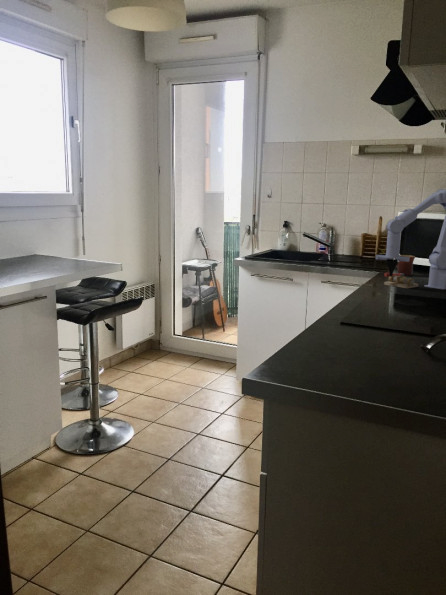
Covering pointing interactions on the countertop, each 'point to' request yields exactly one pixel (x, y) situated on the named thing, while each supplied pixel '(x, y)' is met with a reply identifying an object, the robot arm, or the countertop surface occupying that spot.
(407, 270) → the mug
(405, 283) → the valve board
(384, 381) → the countertop surface
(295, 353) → the countertop surface
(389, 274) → the valve lever
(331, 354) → the countertop surface
